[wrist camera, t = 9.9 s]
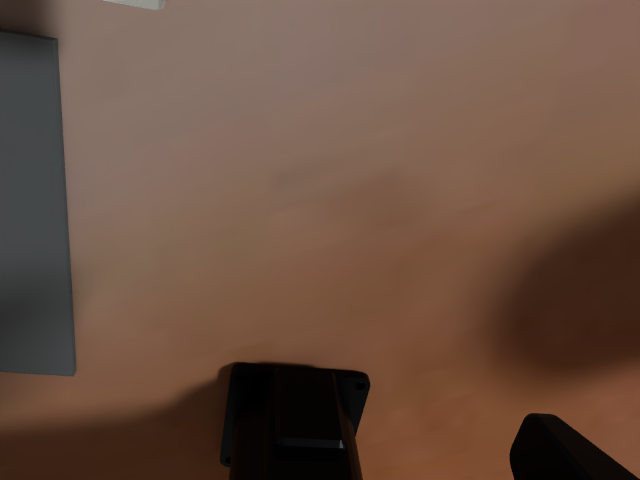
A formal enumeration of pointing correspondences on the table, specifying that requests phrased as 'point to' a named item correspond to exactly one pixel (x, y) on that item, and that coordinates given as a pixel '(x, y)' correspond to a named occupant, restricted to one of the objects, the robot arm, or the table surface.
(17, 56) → the mat
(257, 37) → the table surface
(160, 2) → the lid
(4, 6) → the table surface
